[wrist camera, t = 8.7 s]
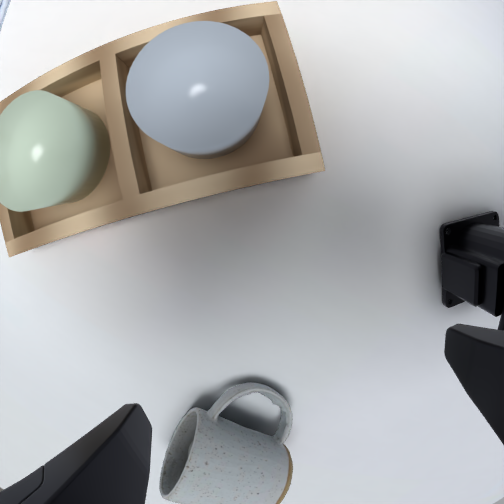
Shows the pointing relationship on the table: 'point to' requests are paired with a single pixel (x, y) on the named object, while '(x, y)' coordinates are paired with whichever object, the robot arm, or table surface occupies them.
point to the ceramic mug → (227, 456)
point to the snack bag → (3, 10)
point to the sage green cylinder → (49, 152)
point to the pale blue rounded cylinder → (199, 88)
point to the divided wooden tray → (158, 155)
